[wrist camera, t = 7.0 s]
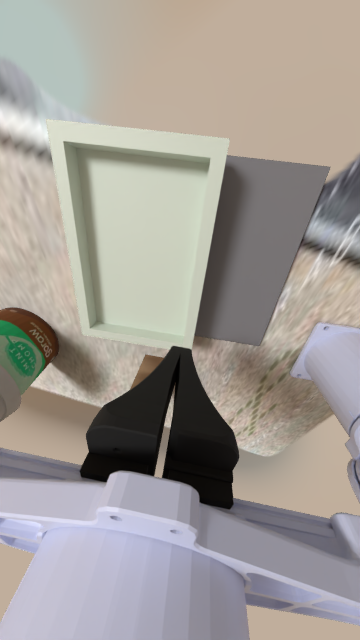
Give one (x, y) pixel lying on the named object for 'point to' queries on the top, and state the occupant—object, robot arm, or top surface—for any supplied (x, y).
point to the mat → (254, 244)
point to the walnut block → (146, 368)
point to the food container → (22, 354)
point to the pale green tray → (137, 226)
